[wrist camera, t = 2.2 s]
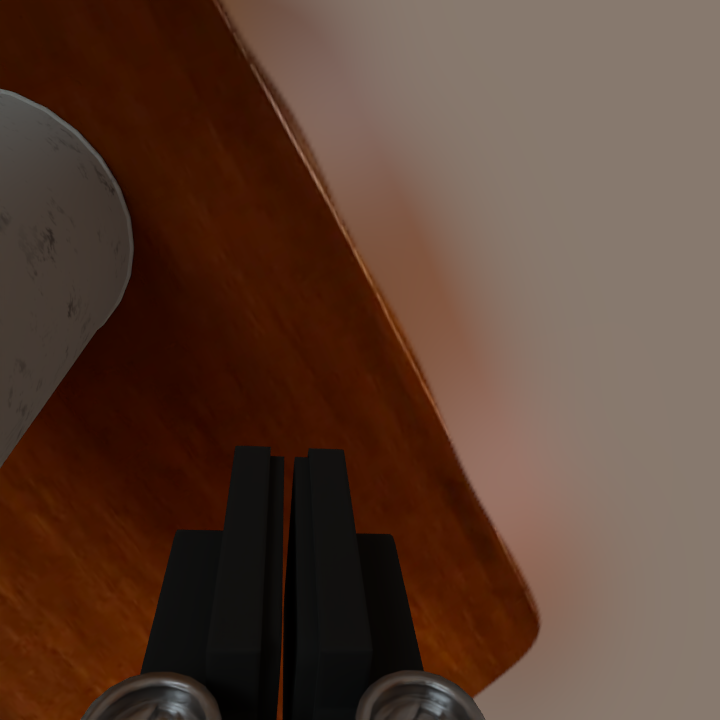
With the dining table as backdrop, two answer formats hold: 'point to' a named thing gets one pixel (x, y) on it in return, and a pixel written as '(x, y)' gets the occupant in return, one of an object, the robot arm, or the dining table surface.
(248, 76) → the dining table surface
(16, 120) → the grey can
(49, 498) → the dining table surface
